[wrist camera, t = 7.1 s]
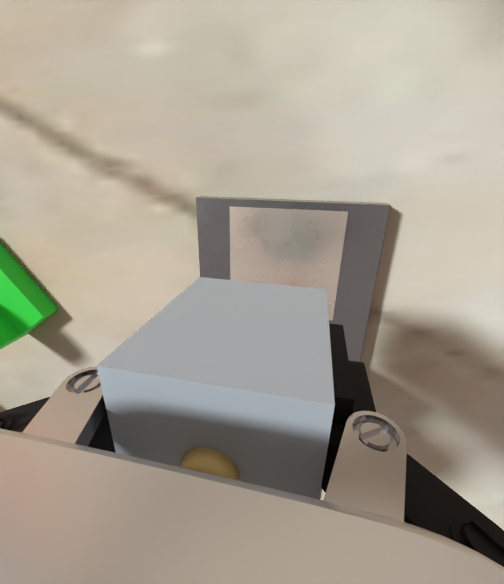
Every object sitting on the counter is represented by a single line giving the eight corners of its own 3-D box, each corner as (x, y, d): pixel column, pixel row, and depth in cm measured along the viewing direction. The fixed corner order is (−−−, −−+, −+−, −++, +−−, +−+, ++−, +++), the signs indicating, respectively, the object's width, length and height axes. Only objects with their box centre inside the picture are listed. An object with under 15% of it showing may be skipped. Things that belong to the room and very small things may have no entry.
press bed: (202, 196, 22) (119, 213, 13) (386, 203, 19) (446, 230, 10) (210, 370, 28) (158, 465, 19) (350, 392, 25) (368, 512, 16)
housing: (199, 277, 12) (79, 380, 6) (326, 289, 11) (336, 426, 5) (204, 377, 14) (117, 532, 8) (313, 394, 13) (308, 586, 7)
